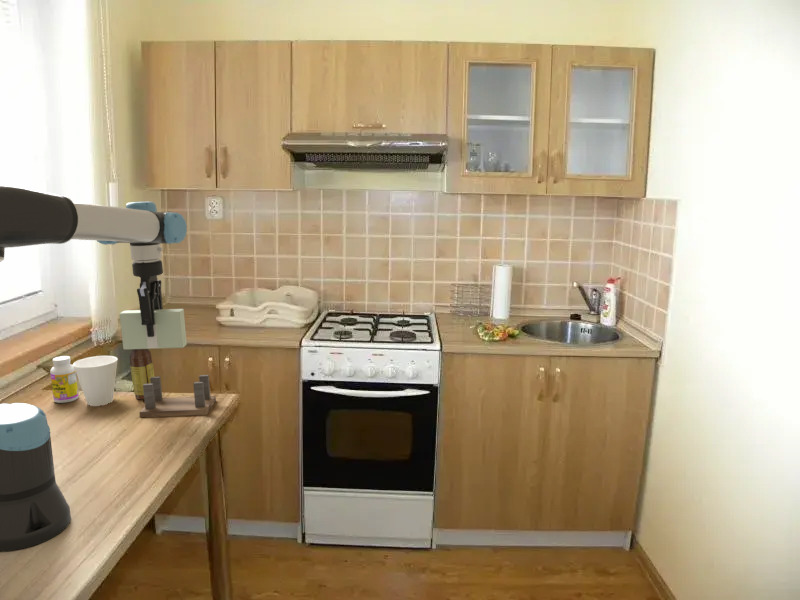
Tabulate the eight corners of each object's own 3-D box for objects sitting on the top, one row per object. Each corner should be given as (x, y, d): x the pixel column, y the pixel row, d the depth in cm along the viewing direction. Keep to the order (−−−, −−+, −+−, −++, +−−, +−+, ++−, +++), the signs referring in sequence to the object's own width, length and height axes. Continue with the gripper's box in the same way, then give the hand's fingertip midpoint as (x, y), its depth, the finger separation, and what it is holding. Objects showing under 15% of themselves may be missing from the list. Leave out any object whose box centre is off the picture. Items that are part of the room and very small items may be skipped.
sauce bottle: (152, 391, 199) (146, 328, 195) (160, 397, 194) (153, 332, 190) (130, 396, 195) (123, 332, 191) (137, 402, 190) (130, 336, 186)
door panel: (183, 347, 177) (179, 311, 175) (123, 349, 177) (119, 313, 174) (186, 344, 180) (183, 308, 178) (128, 345, 180) (124, 310, 178)
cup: (112, 392, 199) (107, 353, 197) (129, 401, 191) (124, 360, 189) (71, 402, 191) (66, 362, 189) (87, 412, 183) (82, 370, 180)
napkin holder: (206, 414, 179) (204, 385, 178) (140, 417, 179) (136, 387, 177) (215, 400, 190) (213, 372, 188) (153, 402, 189) (150, 374, 188)
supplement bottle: (48, 402, 192) (43, 360, 189) (66, 395, 198) (61, 354, 195) (66, 404, 189) (61, 362, 187) (84, 397, 196) (79, 355, 193)
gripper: (151, 264, 166) (160, 353, 170) (170, 255, 182) (177, 337, 187) (121, 265, 165) (131, 354, 170) (142, 256, 182) (151, 338, 186)
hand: (155, 345), depth 178 cm, fingers closed on door panel, 4 cm apart
